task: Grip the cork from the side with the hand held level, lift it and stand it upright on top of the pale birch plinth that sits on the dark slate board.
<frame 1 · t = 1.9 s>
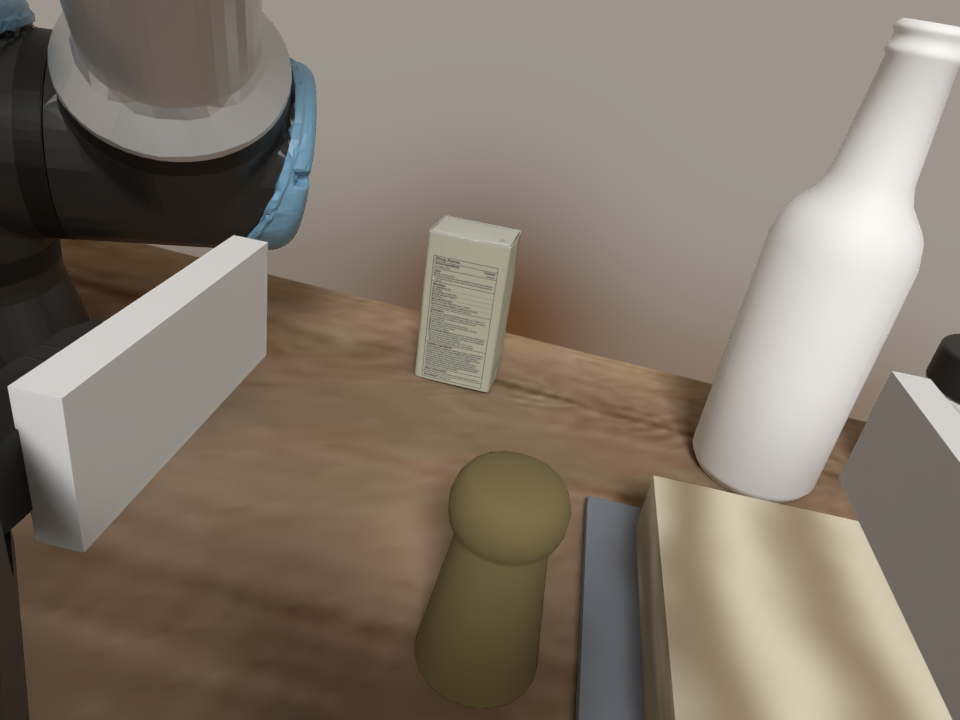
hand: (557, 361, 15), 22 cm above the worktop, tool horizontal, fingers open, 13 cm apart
jar: (925, 506, 53), on the worktop
plinth: (791, 678, 37), on the worktop
skincare box: (455, 375, 58), on the worktop
cork: (475, 654, 35), on the worktop
alcohol: (747, 470, 53), on the worktop
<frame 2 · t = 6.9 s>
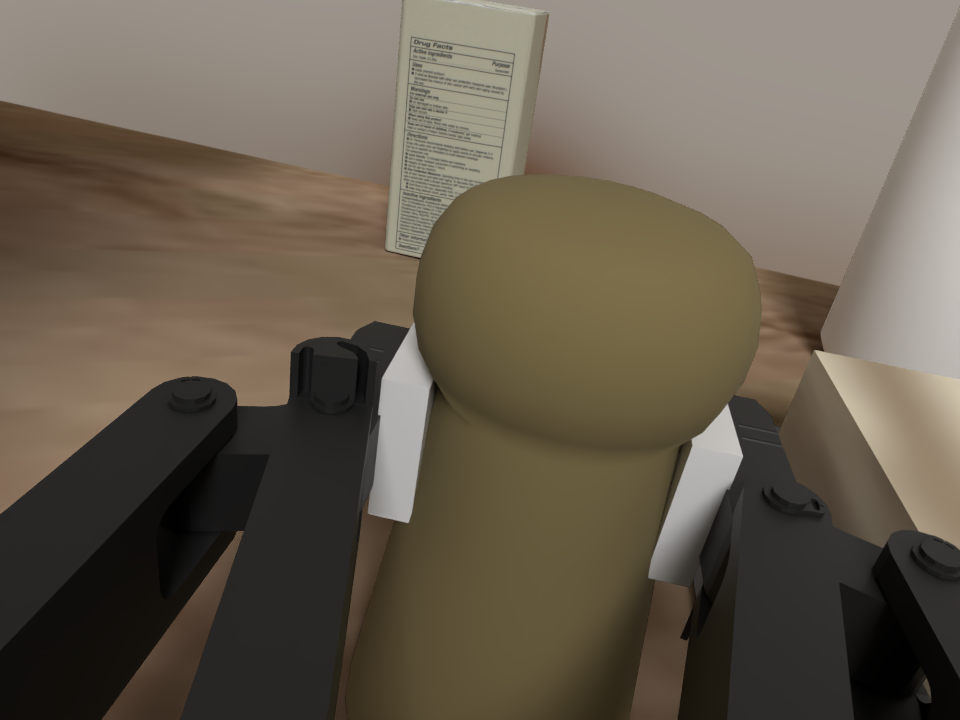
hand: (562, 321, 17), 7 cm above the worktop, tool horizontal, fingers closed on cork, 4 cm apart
skincare box: (446, 254, 39), on the worktop
cork: (485, 699, 16), on the worktop, touching gripper
alcohol: (909, 384, 33), on the worktop
when the fingers open (12 cm above the worktop, at t = 11.3 s): cork moves 5 cm, resting on plinth.
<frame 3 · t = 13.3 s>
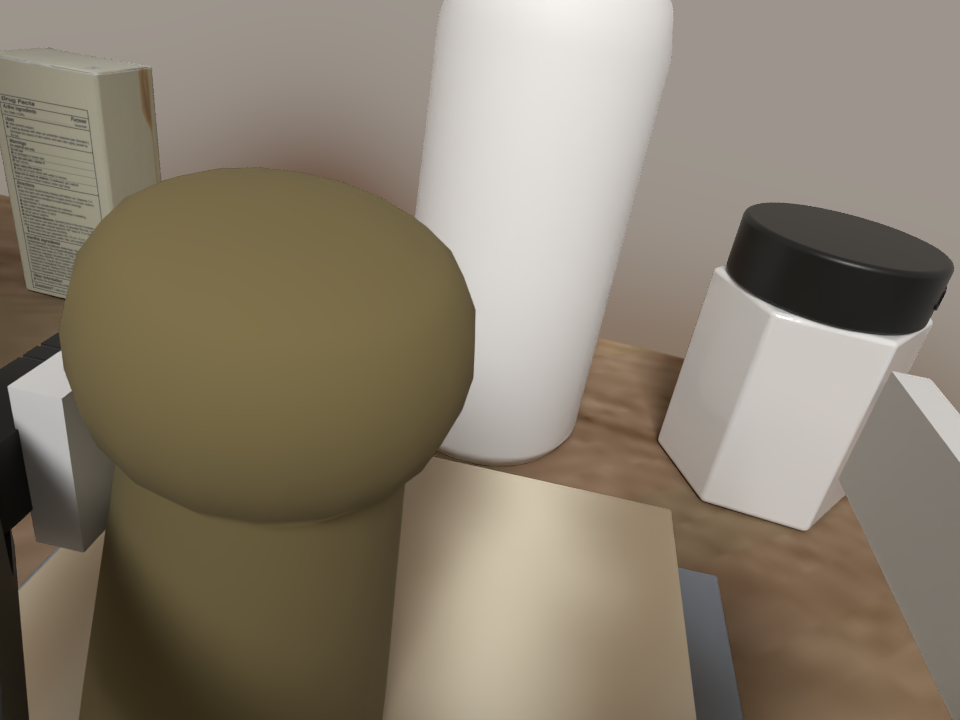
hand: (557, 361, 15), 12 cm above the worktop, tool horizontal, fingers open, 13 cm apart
jar: (746, 472, 35), on the worktop
skincare box: (98, 291, 41), on the worktop
cork: (241, 692, 15), point 5 cm above the worktop, touching gripper, plinth
alcohol: (482, 420, 35), on the worktop
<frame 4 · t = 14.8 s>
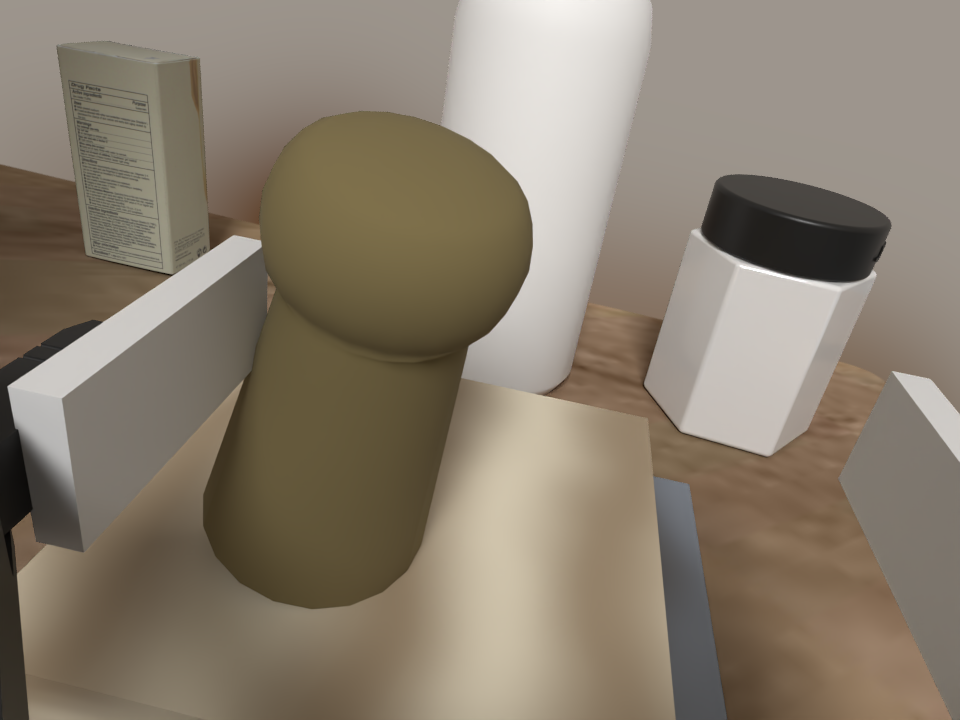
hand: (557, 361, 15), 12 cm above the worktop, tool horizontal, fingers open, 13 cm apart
jar: (721, 412, 40), on the worktop
plinth: (384, 611, 24), on the worktop
skincare box: (147, 258, 46), on the worktop
cork: (317, 510, 20), point 5 cm above the worktop, touching plinth
alcohol: (489, 367, 40), on the worktop
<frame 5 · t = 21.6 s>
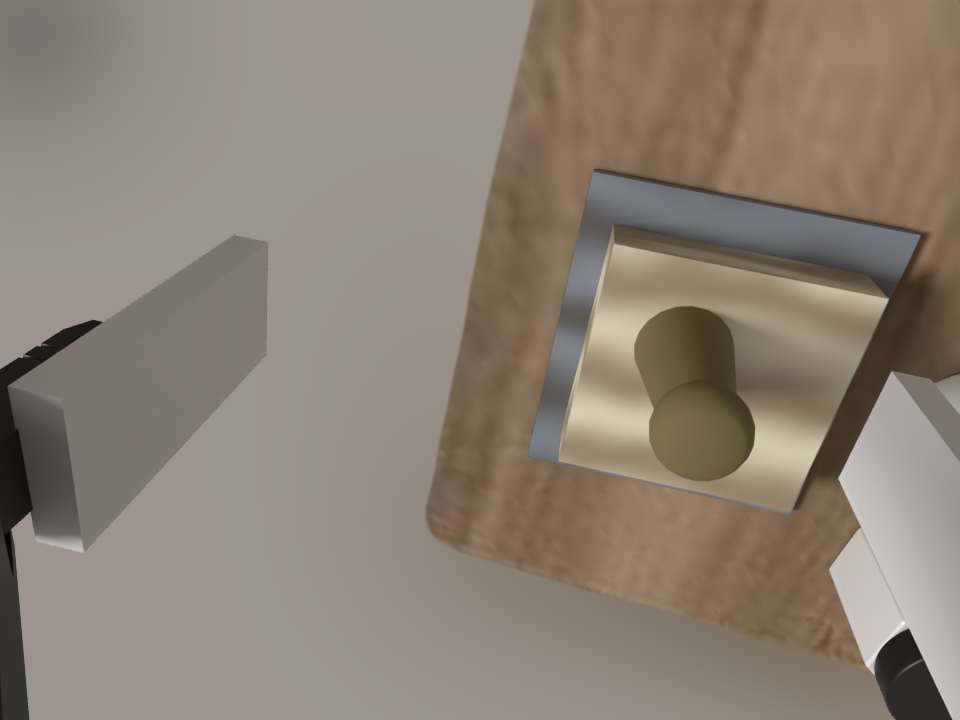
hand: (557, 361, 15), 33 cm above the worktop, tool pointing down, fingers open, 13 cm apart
jar: (889, 561, 56), on the worktop
plinth: (699, 353, 50), on the worktop
cork: (682, 349, 45), point 5 cm above the worktop, touching plinth
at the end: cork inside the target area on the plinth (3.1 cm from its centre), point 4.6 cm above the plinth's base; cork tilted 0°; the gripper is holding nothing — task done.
